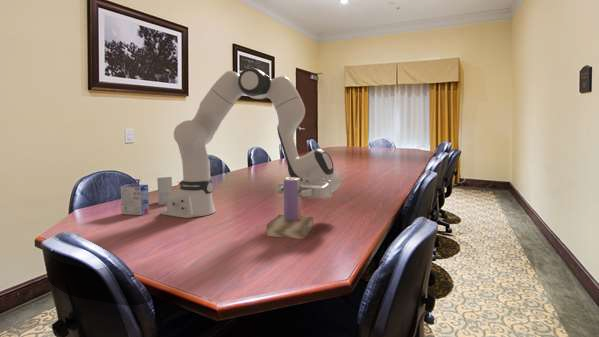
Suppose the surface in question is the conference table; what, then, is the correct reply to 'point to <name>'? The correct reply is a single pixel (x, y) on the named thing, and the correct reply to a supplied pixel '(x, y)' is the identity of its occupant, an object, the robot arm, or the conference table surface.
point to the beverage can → (292, 199)
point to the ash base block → (290, 227)
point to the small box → (164, 188)
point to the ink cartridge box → (135, 198)
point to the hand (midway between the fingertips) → (289, 192)
